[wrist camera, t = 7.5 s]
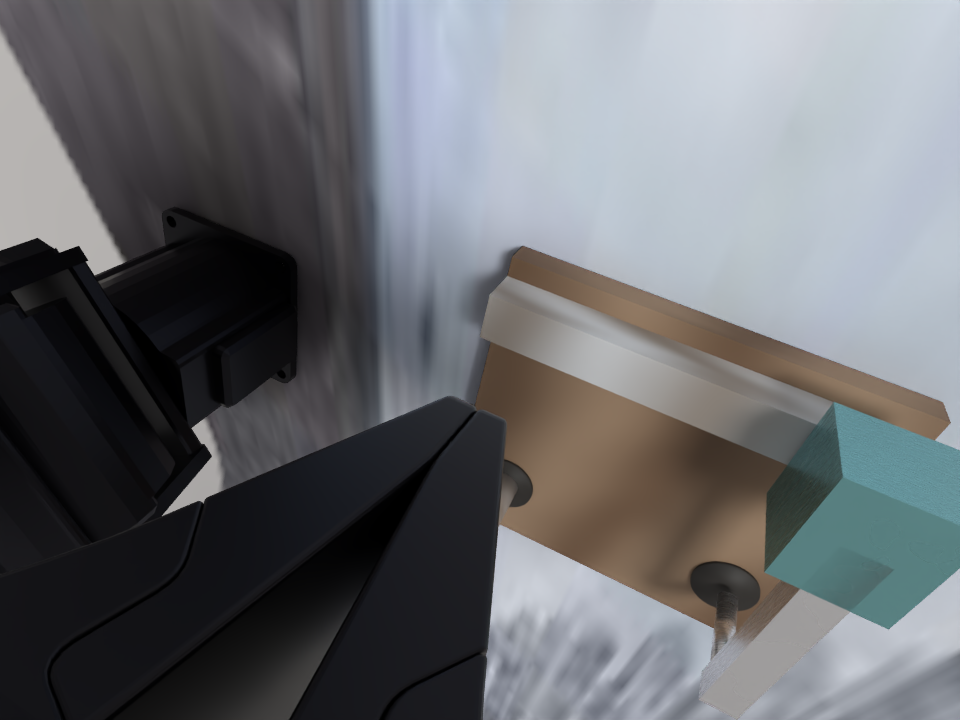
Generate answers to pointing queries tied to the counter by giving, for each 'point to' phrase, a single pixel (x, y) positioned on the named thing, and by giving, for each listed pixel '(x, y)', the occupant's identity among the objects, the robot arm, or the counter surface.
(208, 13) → the counter surface
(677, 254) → the counter surface
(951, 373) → the counter surface
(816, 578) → the leg
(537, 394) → the plate
